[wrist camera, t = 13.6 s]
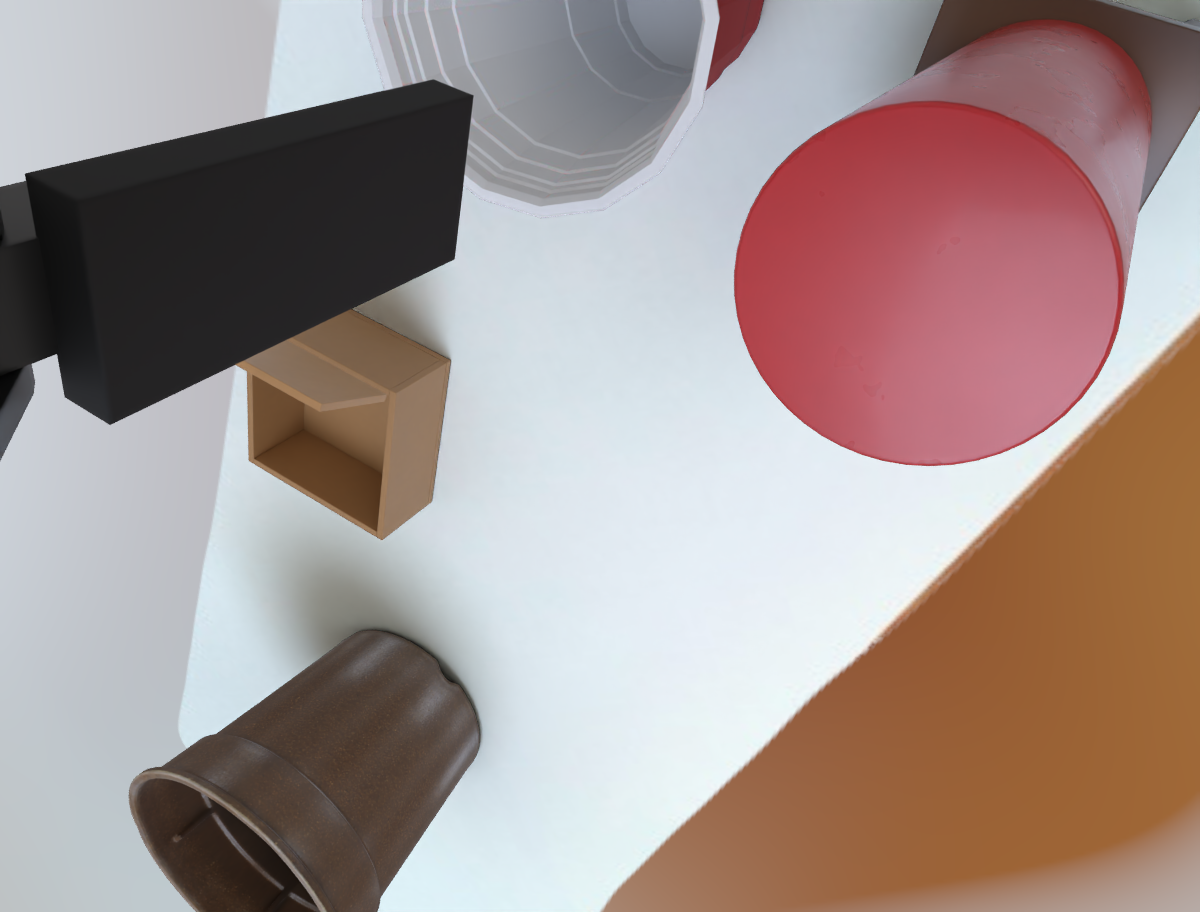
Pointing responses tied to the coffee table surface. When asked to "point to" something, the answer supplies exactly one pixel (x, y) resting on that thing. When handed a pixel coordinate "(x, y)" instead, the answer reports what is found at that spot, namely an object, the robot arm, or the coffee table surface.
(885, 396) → the can
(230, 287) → the robot arm
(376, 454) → the carton
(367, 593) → the coffee table surface
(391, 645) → the plant pot
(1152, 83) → the stool
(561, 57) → the plastic cup
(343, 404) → the flap
